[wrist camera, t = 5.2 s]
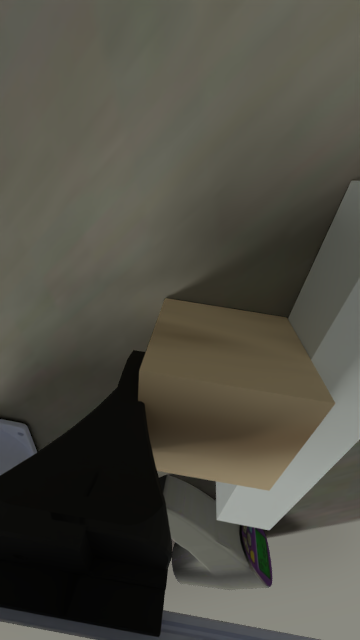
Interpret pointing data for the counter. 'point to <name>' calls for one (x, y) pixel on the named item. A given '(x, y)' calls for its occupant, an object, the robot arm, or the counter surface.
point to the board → (332, 365)
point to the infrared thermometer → (212, 542)
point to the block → (228, 394)
